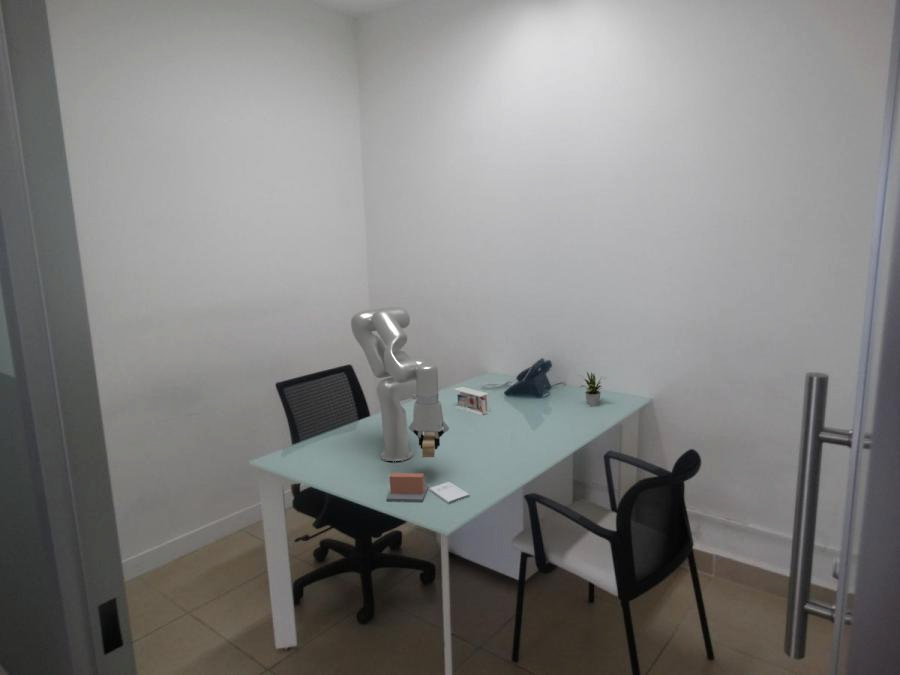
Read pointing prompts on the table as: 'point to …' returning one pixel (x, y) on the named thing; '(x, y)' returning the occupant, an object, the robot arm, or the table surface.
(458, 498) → the external hard drive
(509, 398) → the table surface
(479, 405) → the cigarette display
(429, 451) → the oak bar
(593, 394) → the house plant
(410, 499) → the fulcrum board
